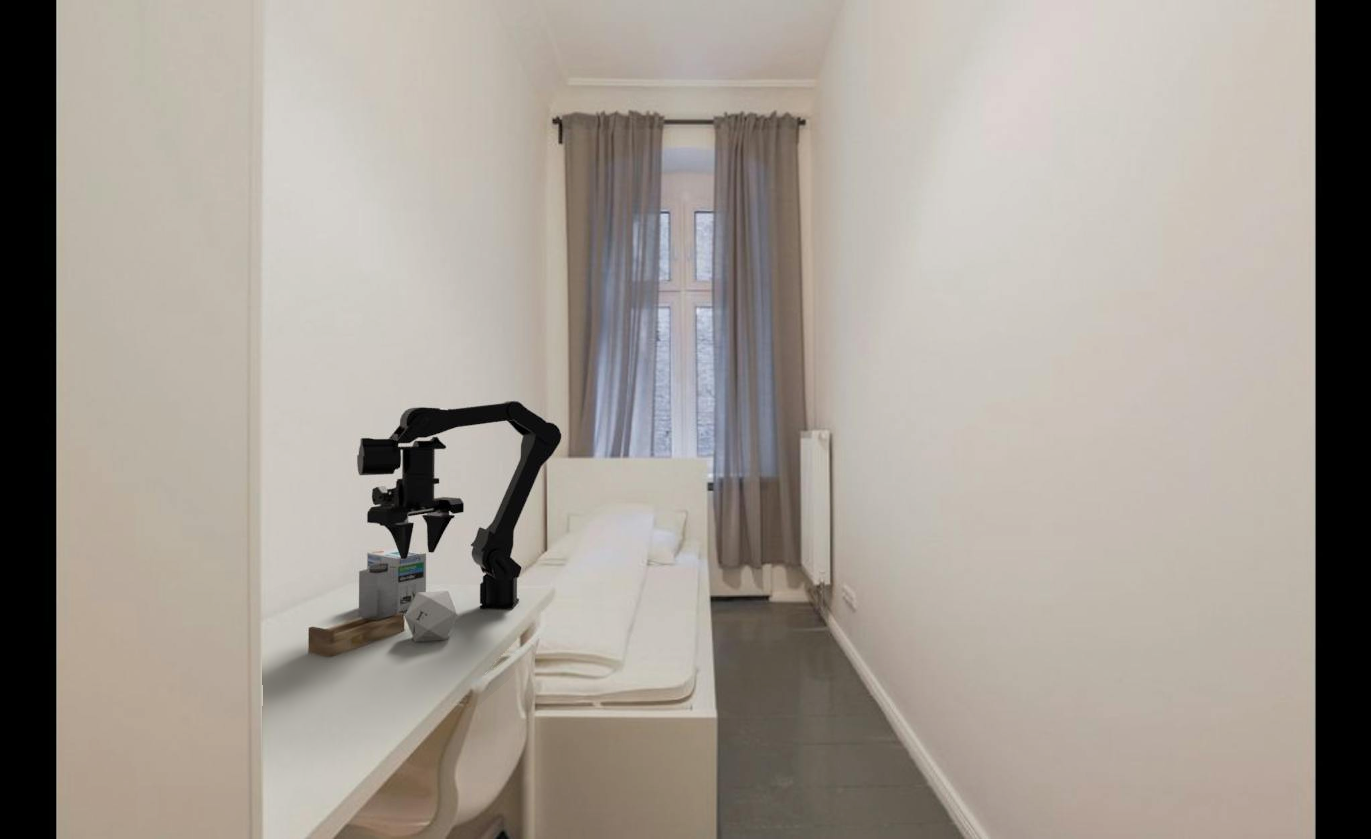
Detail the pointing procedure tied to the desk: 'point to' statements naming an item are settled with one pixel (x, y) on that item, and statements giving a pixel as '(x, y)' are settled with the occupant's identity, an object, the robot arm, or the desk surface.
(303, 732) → the desk surface
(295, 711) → the desk surface
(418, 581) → the light bulb box
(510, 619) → the desk surface
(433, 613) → the die
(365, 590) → the square grey bottle
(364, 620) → the beam
